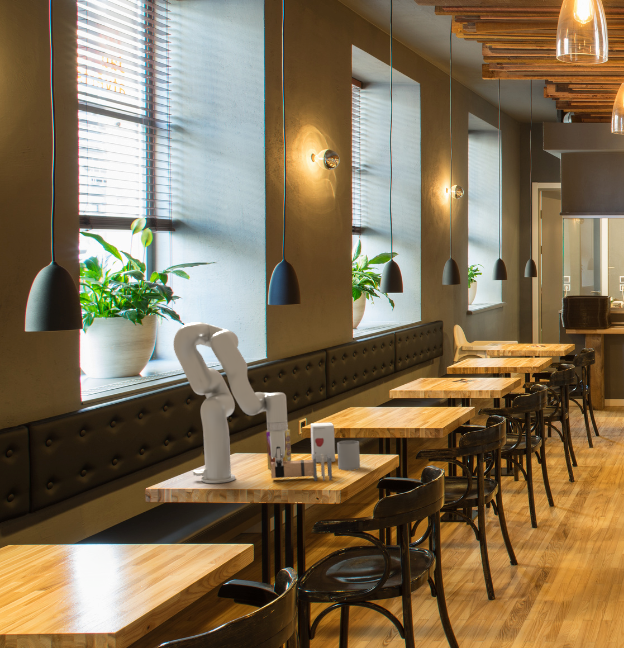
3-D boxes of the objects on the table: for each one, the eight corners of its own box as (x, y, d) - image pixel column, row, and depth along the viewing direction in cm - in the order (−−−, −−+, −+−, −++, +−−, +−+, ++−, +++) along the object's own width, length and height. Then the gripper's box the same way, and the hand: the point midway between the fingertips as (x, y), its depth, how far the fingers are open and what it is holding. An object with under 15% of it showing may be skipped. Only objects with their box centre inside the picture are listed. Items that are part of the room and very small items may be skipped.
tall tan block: (271, 478, 294) (270, 464, 294) (271, 475, 299) (271, 461, 299) (315, 475, 294) (314, 461, 294) (314, 472, 299) (314, 459, 299)
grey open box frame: (314, 481, 293) (313, 458, 293) (313, 476, 301) (312, 454, 301) (332, 480, 293) (331, 457, 293) (330, 475, 301) (329, 453, 301)
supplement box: (313, 463, 326) (311, 426, 326) (311, 458, 335) (309, 423, 335) (335, 461, 327) (334, 424, 327) (333, 457, 336) (331, 421, 336)
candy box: (292, 467, 318) (290, 429, 318) (287, 470, 314) (285, 431, 314) (272, 466, 322) (271, 428, 322) (267, 468, 319) (265, 430, 318)
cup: (351, 471, 308) (350, 444, 307) (334, 469, 313) (333, 443, 312) (364, 466, 314) (362, 441, 314) (346, 465, 319) (345, 439, 319)
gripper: (267, 423, 304) (270, 471, 305) (266, 430, 287) (269, 481, 288) (287, 422, 305) (289, 470, 305) (287, 429, 288) (290, 480, 288)
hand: (279, 475), depth 296 cm, fingers closed on tall tan block, 5 cm apart
